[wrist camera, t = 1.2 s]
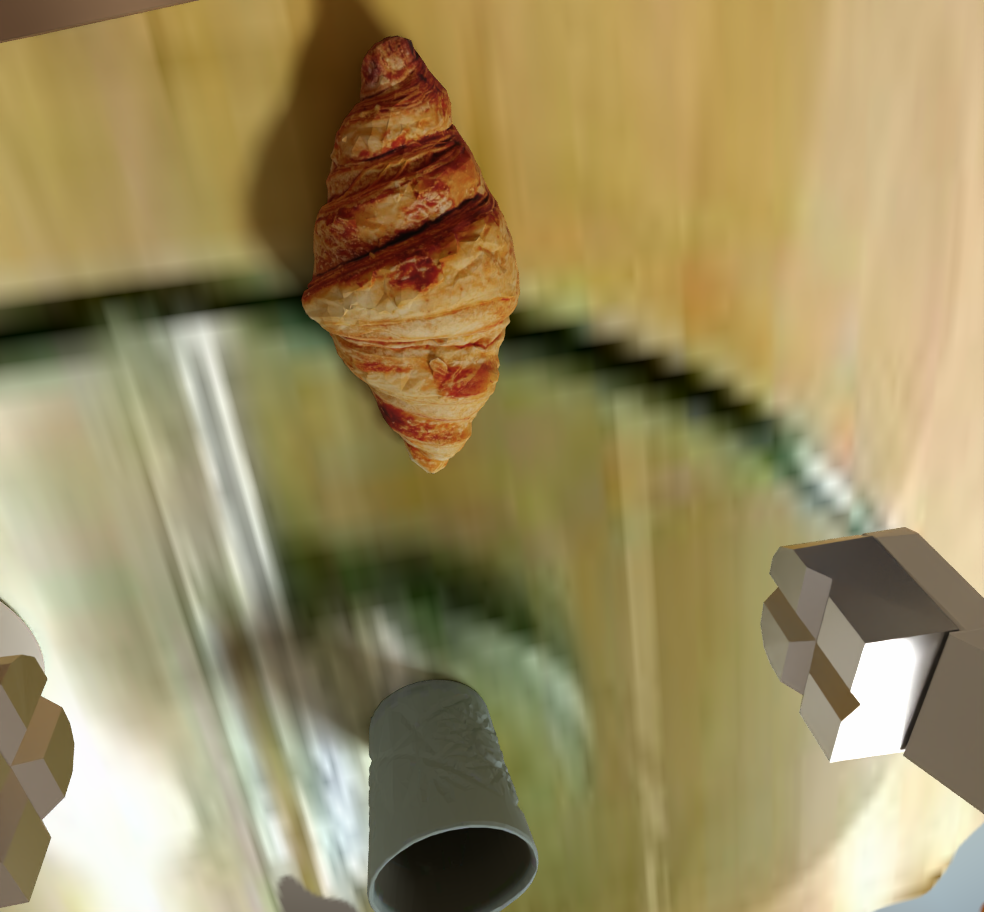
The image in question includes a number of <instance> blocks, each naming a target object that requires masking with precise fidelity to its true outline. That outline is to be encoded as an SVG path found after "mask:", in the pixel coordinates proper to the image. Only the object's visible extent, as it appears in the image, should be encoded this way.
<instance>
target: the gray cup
mask: <svg viewBox="0 0 984 912" xmlns="http://www.w3.org/2000/svg"><path fill="white" fill-rule="evenodd" d="M369 756H370V758H371V760H372V762H371V765H370V767H369V773H370V775H369V787H370V790H369V807H370V810H369V827H370V832H369V855H368V887H367V895H368V900H369V903H370V905H371V907H372V909H373V910H374V911H375V912H499V911H501V910H502V909H503V908H505V907H506V906H507V905H509V904H510V903H511V902H513V901H514V900H516V899H517V898H518V897H519V896H520V895H521V894H523V893H524V892H525V891H526V889H527V888H528V887H529V885H530V884H531V883H532V881H533V879H534V877H535V874H536V872H537V868H538V852H537V849H536V846H535V843H534V841H533V838H532V835H531V832H530V830H529V827H528V824H527V822H526V819H525V816H524V814H523V812H522V811H521V810H520V808H519V807H518V806H517V803H518V797H517V795H516V791H515V788H514V785H513V783H512V780H511V778H510V775H509V773H508V769H507V767H506V765H505V763H504V760H503V753H502V751H501V750H500V746H499V744H498V738H497V736H496V733H495V730H494V727H493V724H492V721H491V718H490V715H489V712H488V709H487V706H486V704H485V702H484V701H483V699H482V698H481V697H480V696H479V694H478V693H477V692H476V691H475V690H473V689H471V688H470V687H468V686H466V685H464V684H461V683H458V682H454V681H449V680H429V681H422V682H417V683H414V684H411V685H408V686H406V687H404V688H401V689H399V690H398V691H396V692H394V693H393V694H391V695H390V696H388V697H387V698H386V699H385V700H383V701H382V702H381V704H380V705H379V706H378V708H377V709H376V711H375V712H374V715H373V717H371V724H370V728H369Z"/></svg>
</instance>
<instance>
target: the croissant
mask: <svg viewBox="0 0 984 912" xmlns="http://www.w3.org/2000/svg"><path fill="white" fill-rule="evenodd" d="M361 83H362V86H361V91H360V103H357V104H356V105H355V106H354V107H353V109H352V110H351V112H350V113H349V114H348V116H347V117H346V118H345V119H344V121H343V123H342V125H341V127H340V129H339V130H338V131H337V132H336V136H335V144H334V149H333V151H332V153H331V155H330V157H331V159H332V165H331V169H330V173H329V175H328V178H327V180H326V185H327V189H328V199H327V204H325V205H324V206H322V207H321V208H320V210H319V213H318V215H317V218H316V223H315V226H314V243H313V252H314V255H315V259H314V272H313V278H312V281H311V282H310V283H309V284H308V289H307V290H306V291H304V293H303V297H302V305H303V307H304V309H305V312H306V313H307V314H308V316H309V317H310V318H311V319H313V320H315V321H316V322H318V323H319V324H320V325H321V327H322V328H324V329H325V330H327V331H328V332H330V335H331V336H332V338H333V340H334V344H335V347H336V350H337V353H338V355H339V356H340V357H341V358H342V359H343V361H344V363H345V364H346V365H347V367H348V368H349V369H350V370H351V371H352V372H353V373H354V374H355V375H356V376H357V377H358V378H360V379H361V380H363V381H364V382H366V383H367V384H368V386H369V387H370V388H371V391H372V393H373V395H374V397H375V399H376V401H377V404H378V407H379V409H380V411H381V413H382V415H383V417H384V419H385V420H386V422H387V423H388V425H389V426H390V427H391V428H392V429H393V430H394V431H395V432H397V433H398V434H399V435H400V437H402V438H403V439H404V443H405V446H406V449H407V451H408V453H409V456H410V459H411V460H412V461H414V462H415V463H416V464H418V465H419V466H420V467H421V468H423V469H424V470H425V471H426V472H428V473H433V474H434V473H436V472H438V471H439V470H441V469H443V468H444V467H445V466H446V464H447V462H448V460H449V458H451V457H453V456H454V455H455V453H456V452H459V451H460V450H461V449H462V448H463V446H464V444H465V443H466V441H467V440H468V439H469V437H470V436H471V432H472V420H473V419H474V418H475V417H476V415H477V412H478V411H479V410H480V409H481V408H482V407H483V406H484V404H485V402H486V401H487V400H488V399H489V396H490V395H491V394H493V392H494V390H495V386H496V382H497V381H498V377H499V371H498V368H499V366H500V363H499V359H498V351H499V347H500V345H501V343H502V341H503V340H504V336H505V328H506V326H507V325H508V324H509V323H510V320H509V315H510V314H511V313H512V312H513V311H514V309H515V307H516V306H517V301H518V297H519V295H520V289H519V272H518V268H517V263H516V259H515V253H514V248H513V241H512V237H511V234H510V232H509V229H508V227H507V224H506V221H505V219H504V216H503V214H502V213H501V211H500V209H499V206H498V203H497V201H496V200H495V199H494V197H493V196H492V194H491V193H490V191H489V189H488V187H487V185H486V183H485V181H484V179H483V177H482V174H481V170H480V168H479V166H478V164H477V163H476V161H475V159H474V156H473V154H472V152H471V150H470V149H469V147H468V145H467V144H466V143H465V141H464V140H463V138H462V137H461V135H460V134H459V133H458V131H457V129H456V127H455V126H454V125H453V124H452V117H451V102H450V100H449V97H448V94H447V91H446V89H445V88H444V87H443V86H442V85H441V84H440V83H439V81H438V80H437V79H436V78H435V77H434V76H433V75H432V74H431V72H430V71H429V70H428V68H427V67H426V65H425V63H424V61H423V60H422V59H421V57H420V56H419V54H418V53H417V52H416V50H415V49H414V48H413V45H412V42H411V40H409V39H406V38H403V37H399V36H393V37H386V38H384V39H383V41H380V42H377V43H375V44H374V45H373V46H372V48H371V49H370V50H369V51H368V52H367V54H366V55H365V57H364V59H363V63H362V67H361Z"/></svg>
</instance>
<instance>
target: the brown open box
mask: <svg viewBox="0 0 984 912" xmlns="http://www.w3.org/2000/svg"><path fill="white" fill-rule="evenodd" d="M193 1H197V0H0V43H2V42H7V41H12V40H17V39H22V38H27V37H32V36H37V35H41V34H46V33H50V32H55V31H60V30H64V29H69V28H73V27H78V26H82V25H87V24H92V23H96V22H101V21H105V20H110V19H115V18H119V17H124V16H128V15H133V14H138V13H142V12H147V11H151V10H156V9H160V8H165V7H170V6H174V5H179V4H183V3H188V2H193Z"/></svg>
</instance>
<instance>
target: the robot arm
mask: <svg viewBox="0 0 984 912" xmlns="http://www.w3.org/2000/svg"><path fill="white" fill-rule="evenodd" d="M769 574H770V575H771V577H772V578H773V580H774V581H775V583H776V584H777V586H778V588H777V589H776V590H775V591H774V592H773V593H772V594H771V595H770V596H769V597H768V599H767V600H766V601H765V602H764V604H763V611H762V618H761V630H762V637H763V644H764V648H765V651H766V654H767V656H768V659H769V662H770V664H771V666H772V668H773V669H774V671H775V673H776V675H777V676H778V678H779V680H780V681H781V682H782V683H784V684H785V685H787V686H789V687H790V688H792V689H794V690H795V691H797V692H799V693H800V694H802V695H803V697H802V702H801V707H800V715H801V716H802V718H803V719H804V721H805V723H806V724H807V726H808V728H809V729H810V731H811V732H812V734H813V736H814V737H815V739H816V741H817V742H818V744H819V745H820V747H821V749H822V750H823V752H824V754H825V755H826V757H827V758H828V760H829V762H835V761H842V760H849V759H855V758H862V757H869V756H876V755H883V754H890V753H897V752H904V751H905V752H904V754H903V756H905V757H906V758H907V759H909V760H910V761H911V762H913V763H914V764H916V765H917V766H918V767H920V768H921V769H923V770H924V771H925V772H927V773H928V774H929V775H931V776H932V777H934V778H935V779H936V780H938V781H939V782H940V783H942V784H943V785H945V786H946V787H947V788H949V789H950V790H952V791H953V792H954V793H956V794H957V795H958V796H960V797H961V798H963V799H964V800H965V801H967V802H968V803H969V804H971V805H972V806H974V807H975V808H976V809H978V810H979V811H981V812H982V813H983V814H984V598H983V597H982V596H981V595H980V594H979V593H978V592H977V591H976V590H975V589H974V588H973V587H972V586H971V585H970V584H969V583H968V582H967V581H966V580H965V579H964V578H963V577H962V576H961V575H960V574H959V573H958V572H957V571H956V570H955V569H954V568H953V567H952V566H951V565H950V564H949V563H948V562H947V561H946V560H945V559H944V558H943V557H942V556H941V555H940V554H939V553H938V552H937V551H935V550H934V549H933V548H932V547H931V546H930V545H929V544H928V543H927V542H926V541H925V540H924V539H923V538H922V537H921V536H920V535H919V534H918V533H917V532H915V531H913V530H910V529H908V528H906V527H903V528H896V529H890V530H884V531H877V532H871V533H865V534H862V535H855V536H848V537H841V538H835V539H828V540H822V541H815V542H808V543H802V544H795V545H788V546H782V547H779V549H778V550H777V552H776V553H775V555H774V556H773V559H772V564H771V569H770V573H769ZM46 681H47V677H46V675H45V667H44V659H43V655H42V652H41V649H40V646H39V644H38V642H37V640H36V638H35V637H34V635H33V633H32V632H31V630H30V629H29V628H28V627H27V625H26V624H25V623H24V622H23V621H22V620H21V618H20V617H19V616H18V615H16V614H15V613H14V612H13V611H12V610H11V609H10V608H9V607H7V606H6V605H5V604H3V603H2V602H1V601H0V908H2V907H7V906H12V905H17V904H22V903H27V902H29V901H30V898H31V895H32V892H33V889H34V886H35V883H36V880H37V877H38V875H39V872H40V869H41V866H42V863H43V860H44V857H45V854H46V851H47V848H48V845H49V842H50V839H51V836H50V834H49V832H48V830H47V828H46V827H45V825H44V823H43V821H42V819H43V818H44V817H45V816H46V815H47V814H48V813H49V812H50V811H51V810H52V809H53V808H54V807H55V806H56V805H57V804H58V803H59V802H60V801H61V800H62V799H63V798H64V797H65V794H66V791H67V788H68V785H69V782H70V778H71V775H72V772H73V756H74V740H73V735H72V731H71V726H70V722H69V720H68V718H67V716H66V714H65V712H64V710H63V708H62V707H60V706H59V705H57V704H55V703H53V702H51V701H49V700H47V699H46V698H44V697H42V696H41V693H42V691H43V689H44V686H45V684H46Z"/></svg>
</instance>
